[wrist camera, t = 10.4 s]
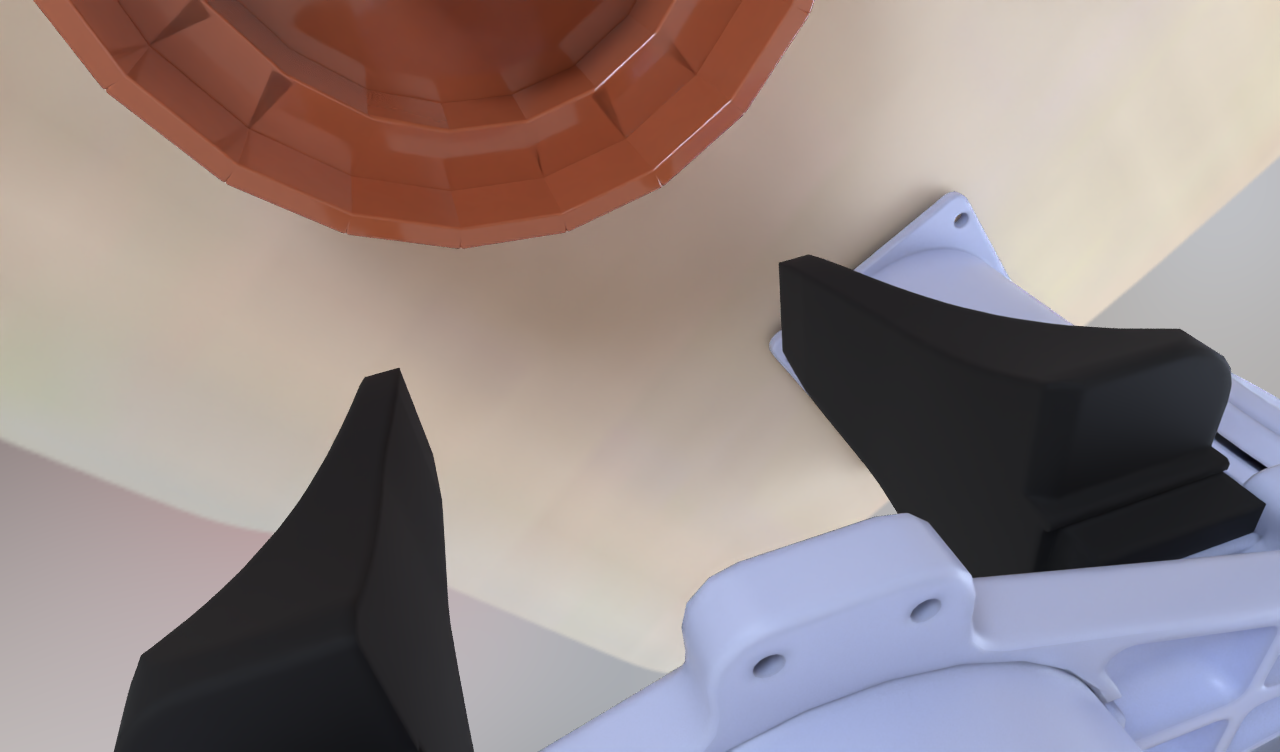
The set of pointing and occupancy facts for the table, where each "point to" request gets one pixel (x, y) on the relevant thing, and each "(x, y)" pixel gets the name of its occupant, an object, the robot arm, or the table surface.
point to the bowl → (436, 100)
